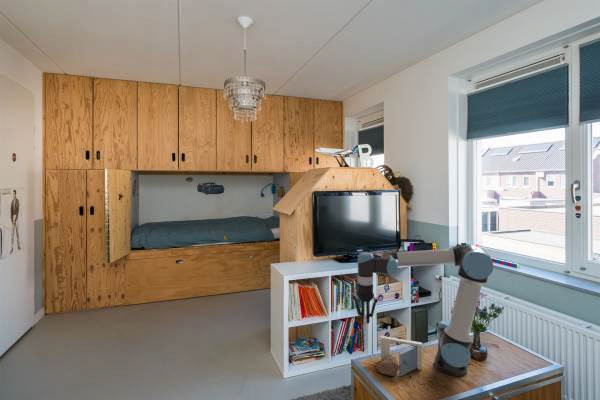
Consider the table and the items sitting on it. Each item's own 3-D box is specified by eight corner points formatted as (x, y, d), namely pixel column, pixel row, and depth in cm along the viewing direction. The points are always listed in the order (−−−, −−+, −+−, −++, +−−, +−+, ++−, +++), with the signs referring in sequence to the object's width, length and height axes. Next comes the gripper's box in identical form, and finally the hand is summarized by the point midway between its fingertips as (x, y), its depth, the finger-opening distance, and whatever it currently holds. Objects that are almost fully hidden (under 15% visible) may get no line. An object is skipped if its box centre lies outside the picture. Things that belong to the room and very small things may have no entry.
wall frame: (421, 368, 157) (421, 342, 156) (421, 370, 155) (421, 344, 154) (381, 360, 164) (381, 335, 163) (380, 362, 162) (380, 337, 162)
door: (416, 366, 157) (416, 344, 157) (420, 369, 155) (420, 347, 154) (399, 375, 150) (399, 352, 150) (403, 378, 148) (403, 355, 147)
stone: (394, 385, 147) (404, 367, 147) (376, 373, 148) (387, 355, 149) (389, 373, 159) (399, 356, 160) (373, 362, 161) (383, 345, 161)
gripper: (379, 282, 157) (379, 327, 158) (354, 279, 162) (354, 323, 163) (377, 287, 150) (377, 334, 151) (351, 284, 155) (351, 330, 156)
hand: (365, 329), depth 157 cm, fingers closed
